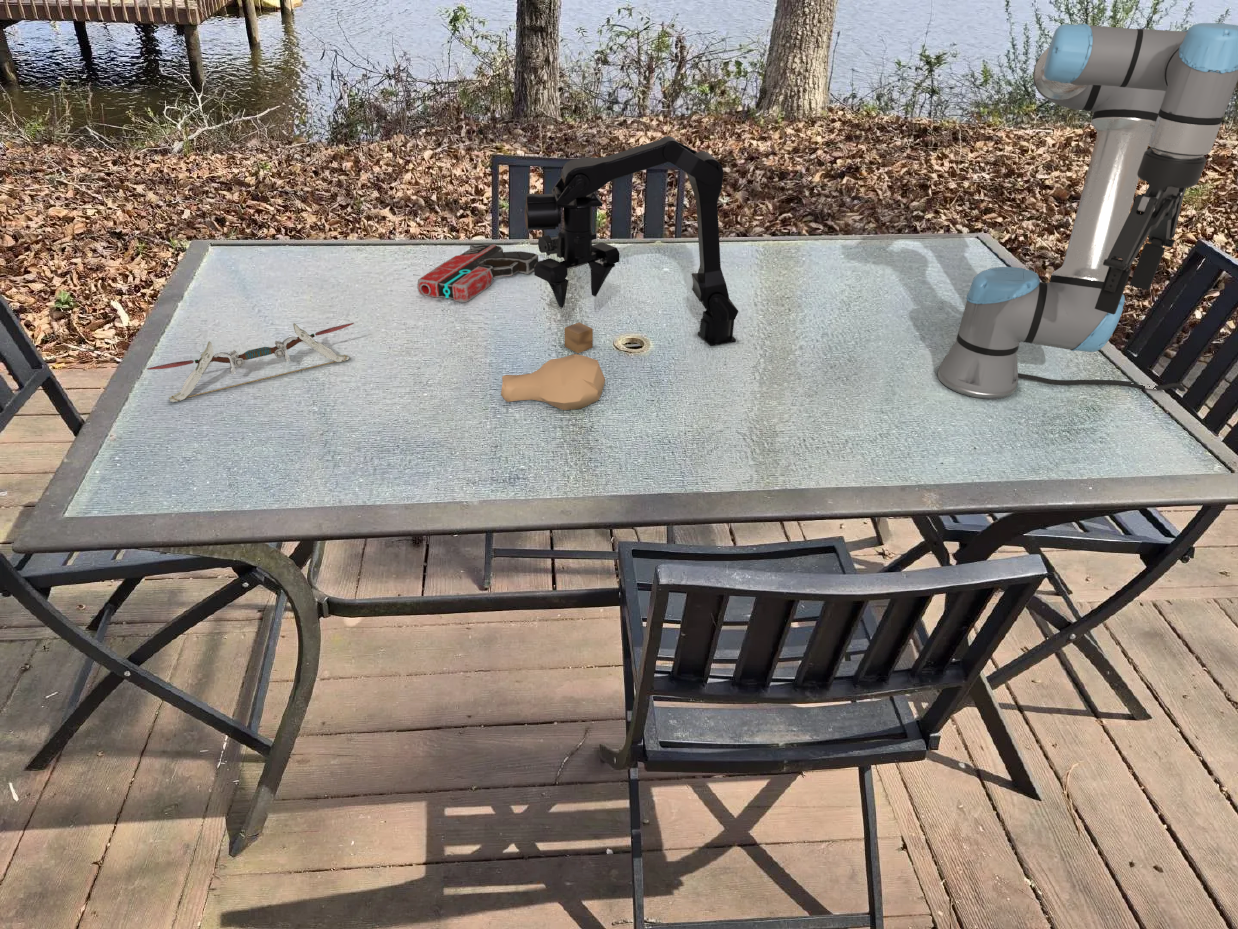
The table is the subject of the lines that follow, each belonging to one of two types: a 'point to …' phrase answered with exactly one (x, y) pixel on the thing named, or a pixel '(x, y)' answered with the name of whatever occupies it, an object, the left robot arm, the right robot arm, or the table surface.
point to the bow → (250, 354)
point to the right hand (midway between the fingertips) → (1122, 298)
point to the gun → (474, 272)
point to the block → (578, 337)
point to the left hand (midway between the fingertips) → (577, 301)
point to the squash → (558, 383)
